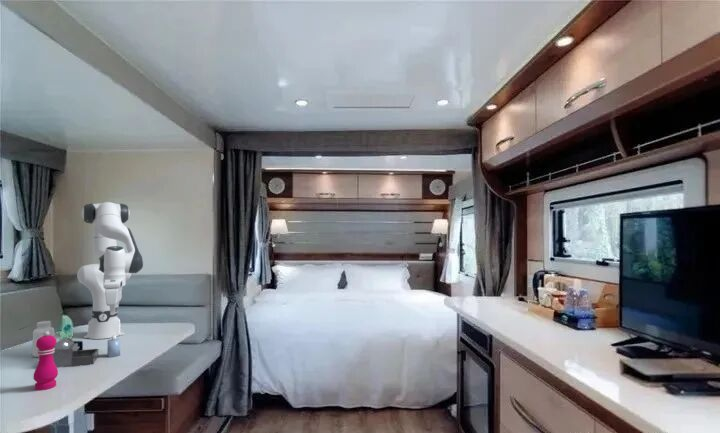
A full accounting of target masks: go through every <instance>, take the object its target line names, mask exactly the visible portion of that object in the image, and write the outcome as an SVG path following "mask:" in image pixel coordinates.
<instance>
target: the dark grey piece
mask: <svg viewBox="0 0 720 433" xmlns="http://www.w3.org/2000/svg"><path fill="white" fill-rule="evenodd" d="M78 346H79V344H78V342H76V343H74V341H73V339H72V338H70V337H63V338H60V339H59V340H58V341H57V342H56V345H55V346H54V348H55V350H54V351H55V352H54V353H53V360H54V363H55V365H56V367H57V368H62V367H61V366H64V367H71V366H72V367H79V366H80V365H82V366H89V365H90V364H91V365H94V364H95V362H96V361H97V359H98V358H99V348H90V349H89V348H88V349H80V350H79V349H78V348H79V347H78ZM80 367H81V366H80Z"/></svg>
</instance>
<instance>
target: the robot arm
mask: <svg viewBox="0 0 720 433" xmlns="http://www.w3.org/2000/svg"><path fill="white" fill-rule="evenodd" d="M130 215H131V212H130V209H129V206H128V205H127V204H124V203H116V202H112V201H104V202H102V203H101V202H100V203H87V204H84V205H83V207H82V208H81V217H82V220H83V222H85V223H87V224H92V225H93V224H94V226H93V235H92V237H93V238H92V239H93V242H92V245H93V246H92V248H93V249H92V250H93V254H95V255H96V256H98V257H99V258H98V262H99V263H90V264H85V265H82V266H80V267H79V269H78V270H77V273H76V277H77V281H79V283H80V284H82V285H84V286H85V287H86V288H87V289H88V290H89V292H90V294H91V296H92V297H91V298H92V310H91V319H90V320H89V321H88V324H87V325H88V326H87V334H85V335H84V336H83V338H84V339H91V340H101V339H109V338H110V339H112V336H113V335H116V337H119V336H123V335H125V331H124V329H123V328H122V325H121V319H120V318H119V317H118V313H119V312H118V311H119V305H120V302H121V300H122V297H123V295H122V294H123V291H122V290H123V287H125V286H126V282H127V281H129V279H130V278H131V276H132V275H133V274H137V273H138V272H140V271H141V270H142V269H143V268H144V259H143V256H142V254H141V252H140V250H139V248H138V245H137V243H136V240H135V237H134V235H133V232H132V230H131V229H130V227H127V226H126V225H125V224H124V223H126V222H127V221H128V220H129V219H130ZM117 242H122V243H123V244H124V245H125V247H126V251H127V252H126V251H125V248H124V247H122V246H119V245H118V243H117Z"/></svg>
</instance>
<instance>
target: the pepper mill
mask: <svg viewBox="0 0 720 433" xmlns="http://www.w3.org/2000/svg"><path fill="white" fill-rule="evenodd" d="M49 334H50V333H49V332H48V331H46V332H44V336H42V337H40V338H39V339H38V340H37V342H36V347H37V348H38V349H39V350H38V355H39V357H38V364H37V366H36V368H35V370H34V372H33V377H32V378H33V381H35V383H34V389H35V390H36V391H45V390H50V389H53V388H54V387H56V386H57V380H56V379H57V377H58V375H59V371H58V367H56V365H55V363H54V360H53V353H54V352H55V351H54V350H55V348H54V346H55V345H56V343H57V342H58V341H57V338H56V337H55V335H54V336H51V335H49Z"/></svg>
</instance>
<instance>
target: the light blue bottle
mask: <svg viewBox="0 0 720 433" xmlns="http://www.w3.org/2000/svg"><path fill="white" fill-rule="evenodd" d="M106 353H107V354H106V356H107V358H117V357H120V356H121V339H120V338H117V336H116V335H113V336H112V337H111V338H110V339H108V340H107V352H106Z"/></svg>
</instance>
